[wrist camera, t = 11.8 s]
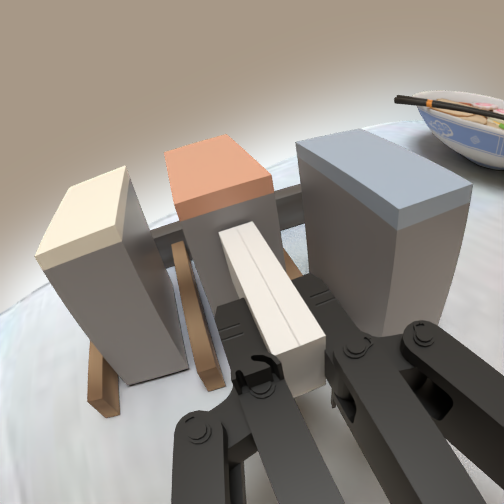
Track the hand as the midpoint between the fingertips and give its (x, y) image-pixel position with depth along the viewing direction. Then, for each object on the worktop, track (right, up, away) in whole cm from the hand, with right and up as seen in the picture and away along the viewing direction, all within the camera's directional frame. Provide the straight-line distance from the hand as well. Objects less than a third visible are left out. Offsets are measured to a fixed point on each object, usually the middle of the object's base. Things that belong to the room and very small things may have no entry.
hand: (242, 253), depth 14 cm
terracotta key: (0, -3, +8) cm, 8 cm away
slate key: (+7, -4, +5) cm, 9 cm away
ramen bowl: (+32, +12, +19) cm, 40 cm away
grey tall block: (-6, -5, +7) cm, 11 cm away
